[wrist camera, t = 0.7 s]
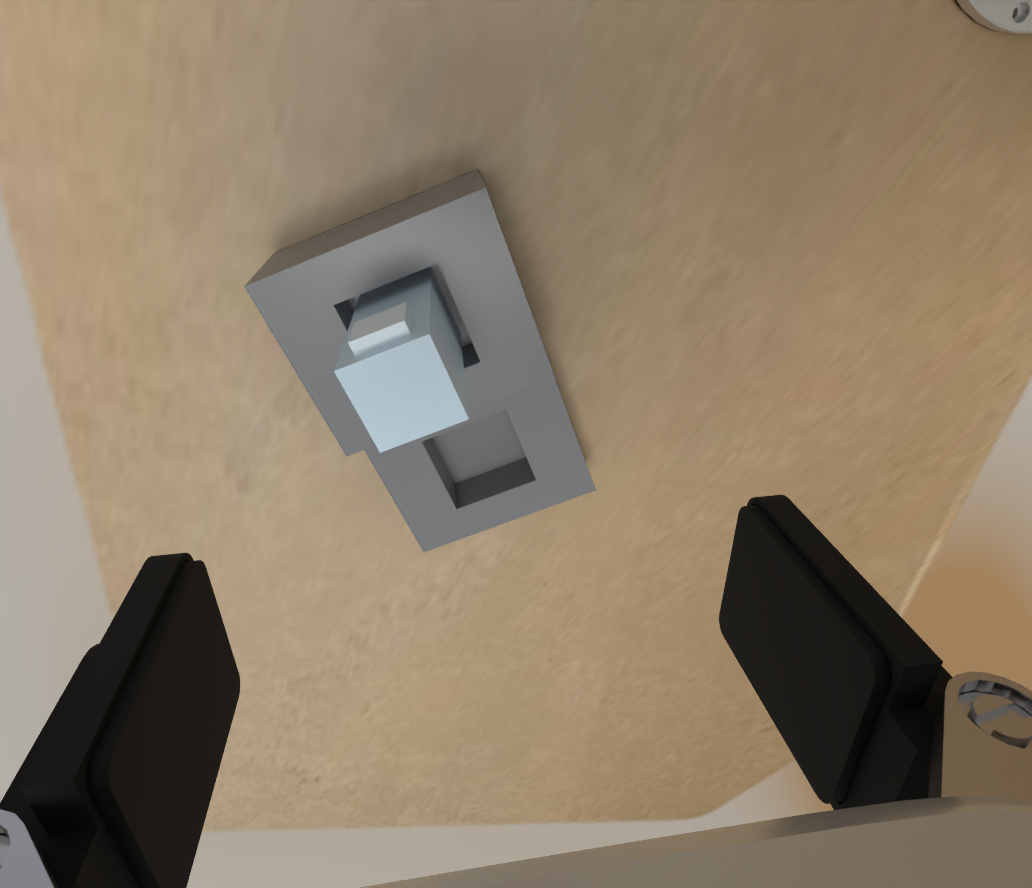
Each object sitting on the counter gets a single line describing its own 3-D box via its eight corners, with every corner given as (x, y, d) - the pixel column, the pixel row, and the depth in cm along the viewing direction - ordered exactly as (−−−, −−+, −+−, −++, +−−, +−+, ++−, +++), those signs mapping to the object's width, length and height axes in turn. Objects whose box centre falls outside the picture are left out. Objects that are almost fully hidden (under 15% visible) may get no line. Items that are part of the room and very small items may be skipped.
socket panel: (477, 168, 34) (485, 187, 29) (584, 461, 44) (606, 517, 39) (274, 252, 35) (244, 286, 30) (424, 520, 45) (422, 583, 40)
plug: (426, 255, 33) (423, 319, 24) (460, 334, 35) (468, 419, 26) (354, 283, 33) (326, 357, 24) (393, 360, 35) (379, 452, 27)
